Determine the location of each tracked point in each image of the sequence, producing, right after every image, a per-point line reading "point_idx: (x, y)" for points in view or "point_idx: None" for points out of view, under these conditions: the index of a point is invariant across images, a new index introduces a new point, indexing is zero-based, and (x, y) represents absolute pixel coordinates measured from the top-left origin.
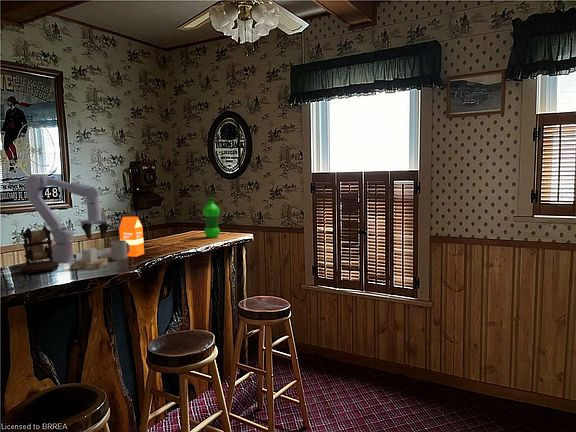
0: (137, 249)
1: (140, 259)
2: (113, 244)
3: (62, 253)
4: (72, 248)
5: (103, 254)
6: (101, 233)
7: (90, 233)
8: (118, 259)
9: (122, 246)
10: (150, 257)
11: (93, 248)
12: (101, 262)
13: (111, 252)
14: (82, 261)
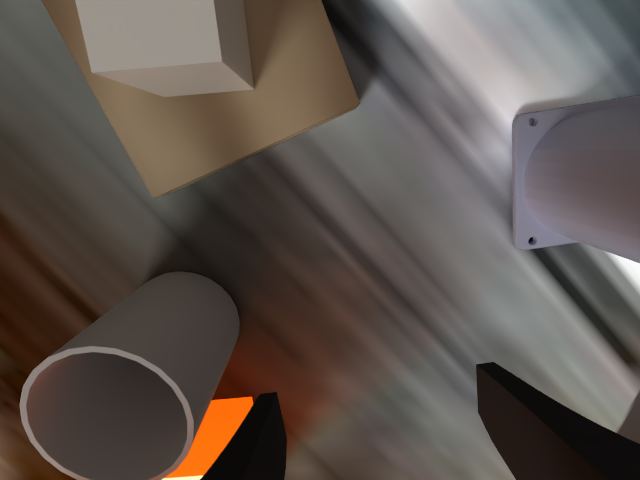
0: None
1: (27, 338)
2: (103, 334)
3: (627, 110)
4: (604, 236)
5: (427, 420)
6: (243, 449)
7: (522, 475)
8: (150, 280)
9: (60, 364)
10: (13, 400)
11: (141, 67)
12: (61, 31)
13: (191, 303)
14: (264, 8)
